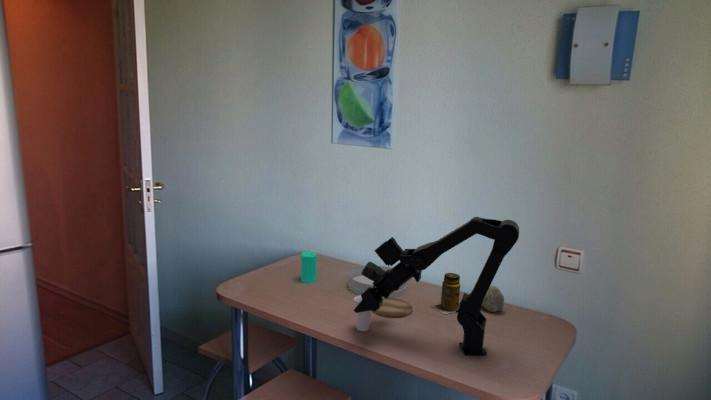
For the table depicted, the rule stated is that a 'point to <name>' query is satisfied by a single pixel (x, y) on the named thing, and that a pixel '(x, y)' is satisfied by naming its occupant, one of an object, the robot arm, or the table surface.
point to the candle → (308, 267)
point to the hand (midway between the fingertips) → (359, 305)
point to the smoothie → (362, 315)
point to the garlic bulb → (493, 299)
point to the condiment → (449, 294)
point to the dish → (368, 282)
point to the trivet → (394, 308)
